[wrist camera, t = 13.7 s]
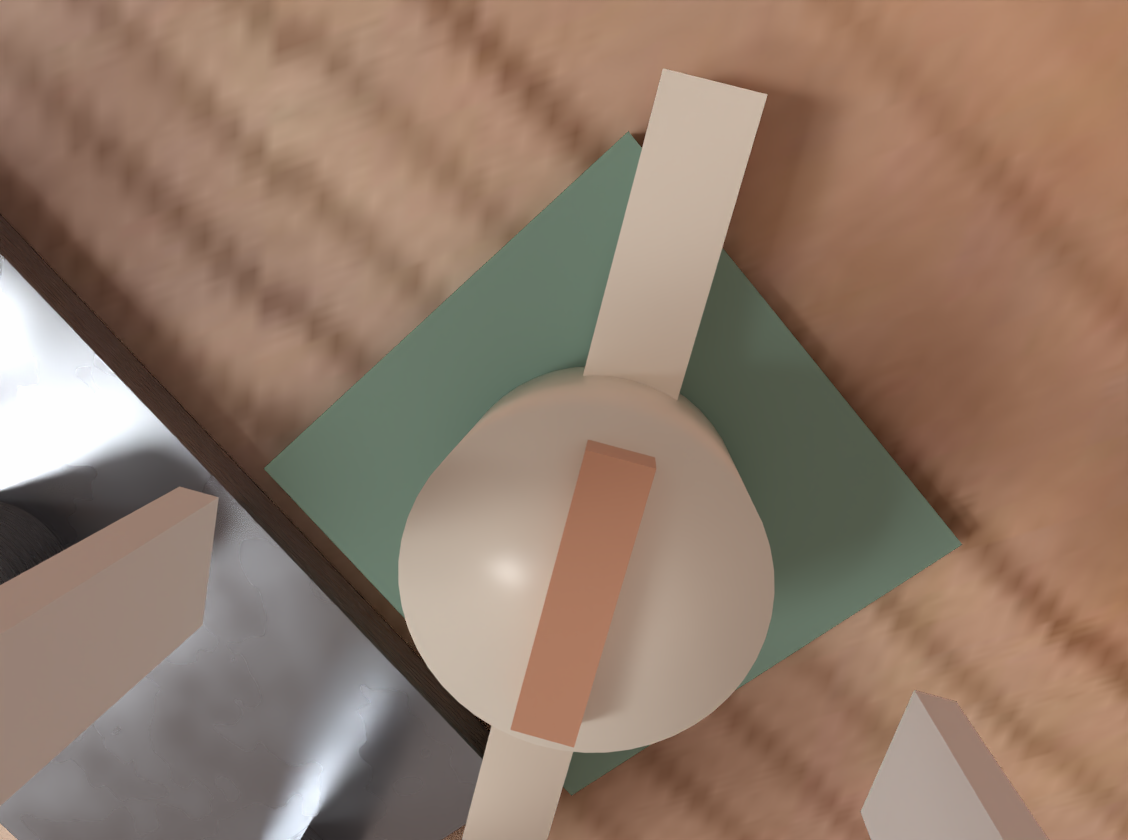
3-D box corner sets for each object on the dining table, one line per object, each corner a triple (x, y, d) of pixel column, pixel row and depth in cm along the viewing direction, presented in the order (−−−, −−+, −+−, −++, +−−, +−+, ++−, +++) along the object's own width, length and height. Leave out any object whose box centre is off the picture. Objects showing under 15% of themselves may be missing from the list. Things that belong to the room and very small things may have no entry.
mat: (273, 462, 22) (263, 468, 22) (629, 134, 19) (628, 131, 18) (573, 781, 24) (571, 795, 23) (953, 535, 20) (962, 544, 20)
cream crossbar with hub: (549, 55, 18) (511, -35, 12) (869, 135, 18) (981, 81, 12) (384, 791, 23) (304, 965, 17) (628, 861, 23) (627, 1059, 17)
